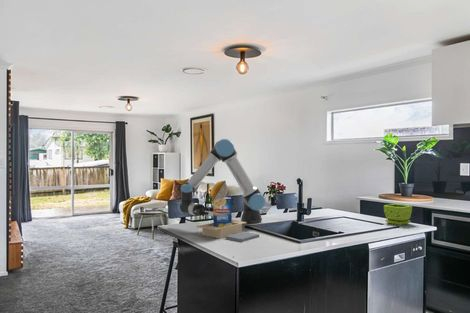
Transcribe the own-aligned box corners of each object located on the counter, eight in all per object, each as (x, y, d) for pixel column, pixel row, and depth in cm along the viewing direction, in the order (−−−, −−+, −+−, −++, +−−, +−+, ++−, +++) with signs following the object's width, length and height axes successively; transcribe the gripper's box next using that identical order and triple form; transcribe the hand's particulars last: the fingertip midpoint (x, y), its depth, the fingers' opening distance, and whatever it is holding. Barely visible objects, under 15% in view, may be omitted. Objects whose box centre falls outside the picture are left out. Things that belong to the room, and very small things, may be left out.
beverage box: (231, 235, 212) (231, 198, 212) (213, 235, 211) (213, 198, 211) (231, 232, 219) (230, 197, 219) (213, 233, 218) (213, 197, 218)
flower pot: (394, 221, 257) (394, 203, 257) (413, 224, 245) (413, 205, 245) (382, 223, 250) (382, 205, 250) (401, 226, 238) (401, 207, 238)
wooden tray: (229, 228, 231) (229, 219, 231) (246, 231, 221) (246, 222, 221) (196, 236, 209) (196, 226, 209) (214, 240, 199) (214, 229, 199)
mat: (243, 234, 215) (243, 231, 215) (259, 237, 207) (259, 234, 207) (225, 238, 202) (225, 236, 202) (241, 242, 195) (241, 239, 195)
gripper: (210, 212, 239) (234, 216, 225) (182, 217, 220) (205, 221, 206) (210, 201, 239) (234, 204, 225) (181, 205, 220) (205, 208, 206)
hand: (220, 212), depth 215 cm, fingers open, 13 cm apart
